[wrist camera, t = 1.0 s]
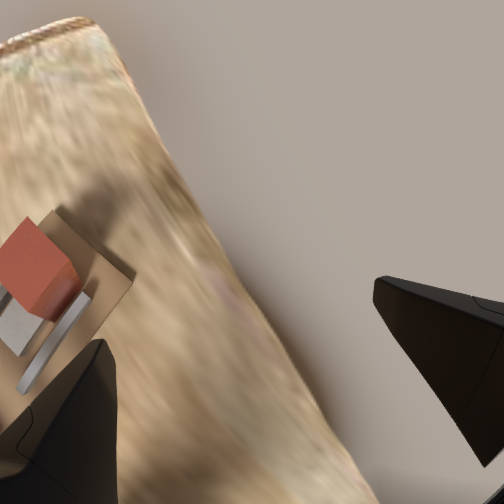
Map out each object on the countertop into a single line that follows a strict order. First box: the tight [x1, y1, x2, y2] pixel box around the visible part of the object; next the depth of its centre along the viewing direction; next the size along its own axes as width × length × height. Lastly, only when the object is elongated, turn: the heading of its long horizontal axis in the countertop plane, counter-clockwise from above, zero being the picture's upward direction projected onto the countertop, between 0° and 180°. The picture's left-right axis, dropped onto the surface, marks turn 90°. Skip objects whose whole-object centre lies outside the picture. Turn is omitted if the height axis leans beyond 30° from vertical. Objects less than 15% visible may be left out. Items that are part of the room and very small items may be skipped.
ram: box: [0, 216, 84, 357], centre depth 16 cm, size 8×4×8 cm, turn 147°
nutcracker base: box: [0, 210, 133, 434], centre depth 16 cm, size 24×10×5 cm, turn 147°
